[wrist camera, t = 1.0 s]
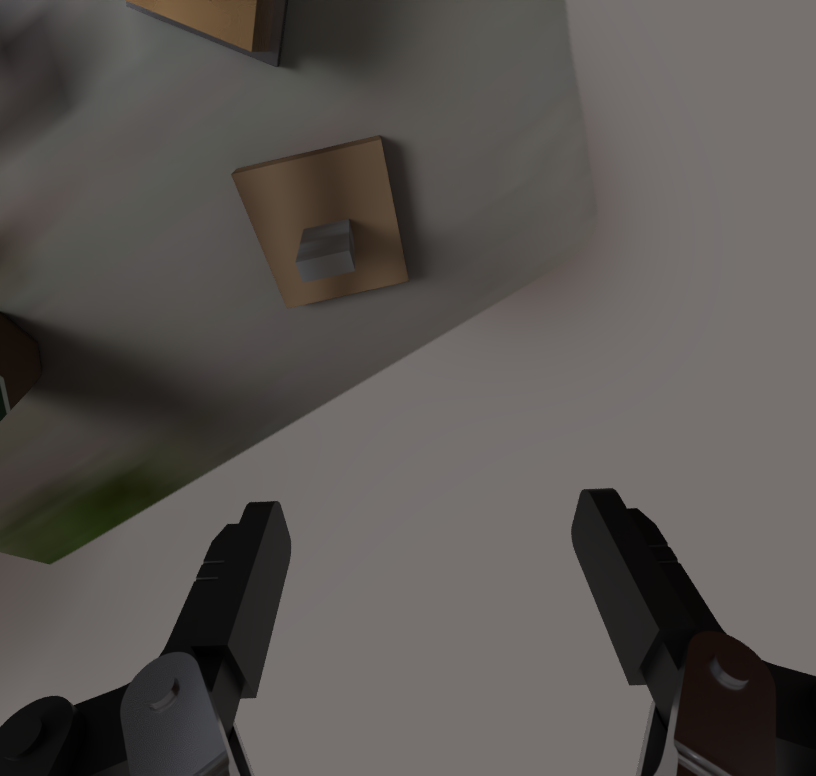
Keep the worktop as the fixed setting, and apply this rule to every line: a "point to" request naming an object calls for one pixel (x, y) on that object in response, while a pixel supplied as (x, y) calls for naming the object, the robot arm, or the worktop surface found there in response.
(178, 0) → the brown slotted box
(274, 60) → the charcoal stand
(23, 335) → the beer bottle
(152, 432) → the worktop surface
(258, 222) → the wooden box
